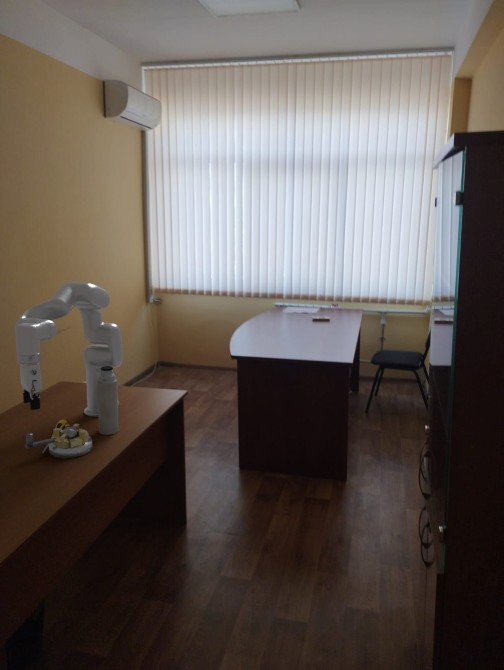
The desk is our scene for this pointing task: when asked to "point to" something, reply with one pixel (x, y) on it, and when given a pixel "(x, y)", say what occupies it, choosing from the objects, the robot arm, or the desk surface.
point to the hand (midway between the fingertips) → (31, 405)
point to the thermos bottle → (107, 401)
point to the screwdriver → (60, 425)
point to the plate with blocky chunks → (69, 451)
